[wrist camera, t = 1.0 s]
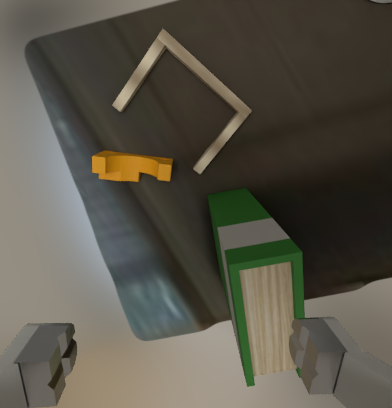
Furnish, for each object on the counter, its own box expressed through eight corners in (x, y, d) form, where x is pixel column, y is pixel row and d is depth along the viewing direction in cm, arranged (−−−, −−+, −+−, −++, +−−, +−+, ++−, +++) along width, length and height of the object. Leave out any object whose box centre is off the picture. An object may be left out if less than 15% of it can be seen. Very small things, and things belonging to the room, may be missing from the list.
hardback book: (254, 266, 54) (306, 376, 31) (220, 272, 54) (247, 386, 31) (245, 187, 48) (302, 251, 25) (207, 194, 48) (228, 265, 25)
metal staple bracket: (164, 32, 39) (163, 28, 37) (248, 110, 43) (252, 110, 41) (115, 105, 42) (112, 105, 40) (199, 172, 46) (199, 174, 45)
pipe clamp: (104, 174, 46) (92, 183, 40) (104, 150, 45) (92, 155, 38) (170, 181, 47) (168, 191, 41) (172, 158, 46) (171, 165, 39)
